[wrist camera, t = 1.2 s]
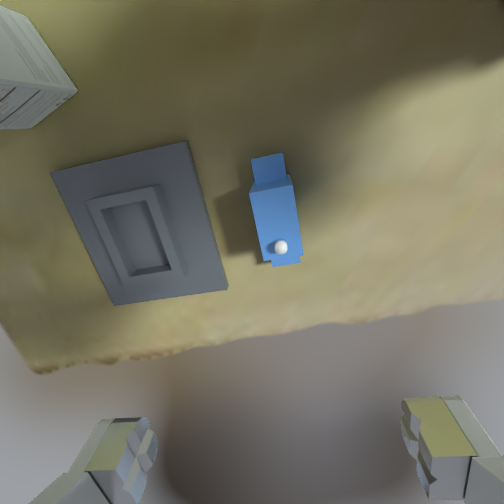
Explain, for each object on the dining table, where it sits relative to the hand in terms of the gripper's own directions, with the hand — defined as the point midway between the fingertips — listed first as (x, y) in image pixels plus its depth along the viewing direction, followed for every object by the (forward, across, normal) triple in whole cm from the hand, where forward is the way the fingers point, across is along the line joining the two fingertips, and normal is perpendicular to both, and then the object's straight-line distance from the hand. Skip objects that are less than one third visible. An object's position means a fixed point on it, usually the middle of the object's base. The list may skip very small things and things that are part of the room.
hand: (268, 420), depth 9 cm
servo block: (+26, 0, 0) cm, 26 cm away
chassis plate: (+26, +16, 0) cm, 30 cm away
